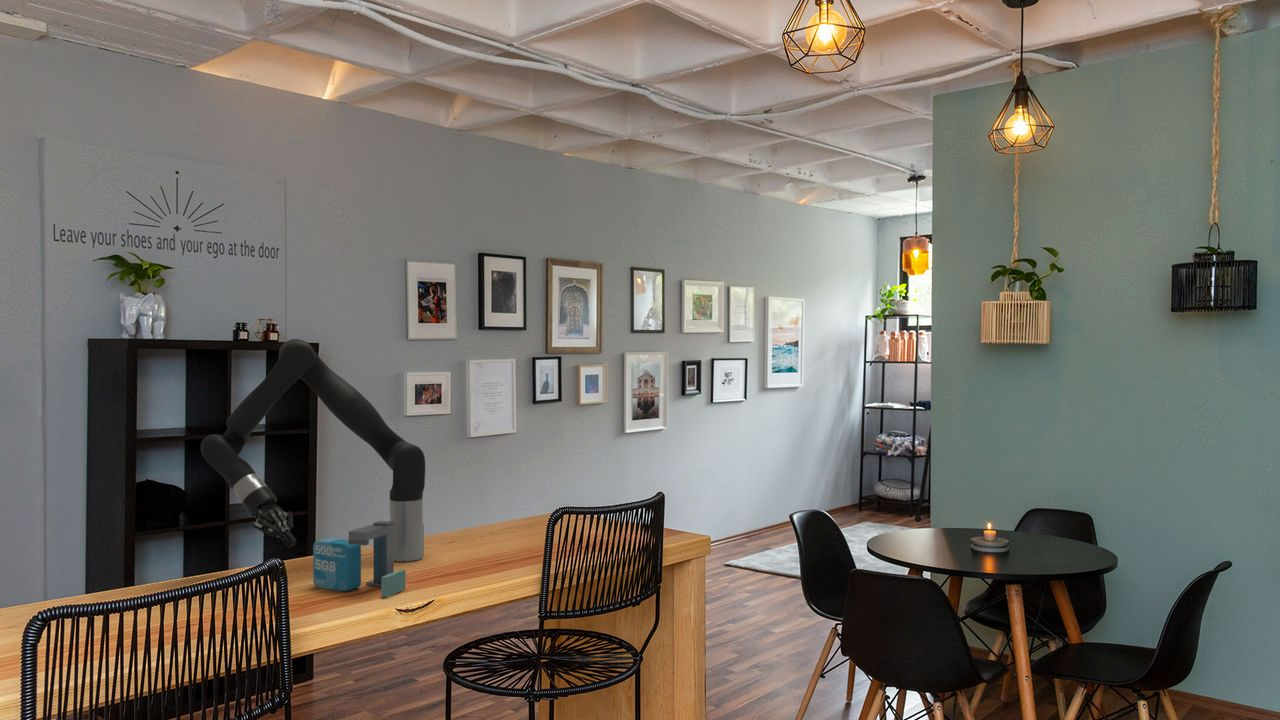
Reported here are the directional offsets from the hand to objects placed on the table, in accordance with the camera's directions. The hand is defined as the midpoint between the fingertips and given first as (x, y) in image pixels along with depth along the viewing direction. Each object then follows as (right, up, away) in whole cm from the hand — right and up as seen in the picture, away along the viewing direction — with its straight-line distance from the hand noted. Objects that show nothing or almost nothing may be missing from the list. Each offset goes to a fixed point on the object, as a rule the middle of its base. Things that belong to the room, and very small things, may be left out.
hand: (292, 544), depth 242 cm
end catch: (+29, -10, -10) cm, 32 cm away
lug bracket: (+22, -10, -4) cm, 25 cm away
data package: (+13, -10, -5) cm, 17 cm away
